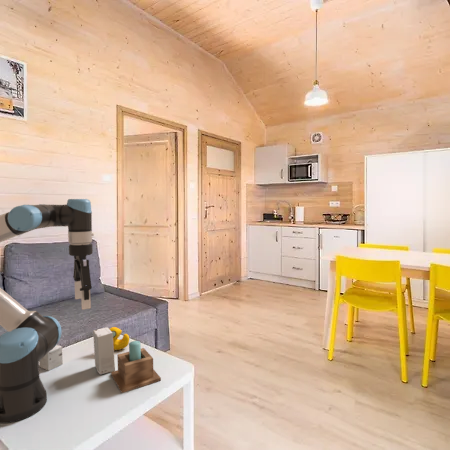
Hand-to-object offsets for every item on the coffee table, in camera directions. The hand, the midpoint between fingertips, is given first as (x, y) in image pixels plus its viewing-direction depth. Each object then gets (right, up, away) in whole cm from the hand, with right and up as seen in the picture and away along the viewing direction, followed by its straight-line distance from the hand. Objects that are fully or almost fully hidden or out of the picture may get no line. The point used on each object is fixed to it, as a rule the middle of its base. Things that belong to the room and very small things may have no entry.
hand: (82, 303), depth 115 cm
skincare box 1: (-18, -28, +14) cm, 36 cm away
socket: (+17, -28, +5) cm, 34 cm away
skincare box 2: (+4, -28, +11) cm, 31 cm away
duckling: (+3, -27, +28) cm, 39 cm away
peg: (+17, -27, +5) cm, 33 cm away
